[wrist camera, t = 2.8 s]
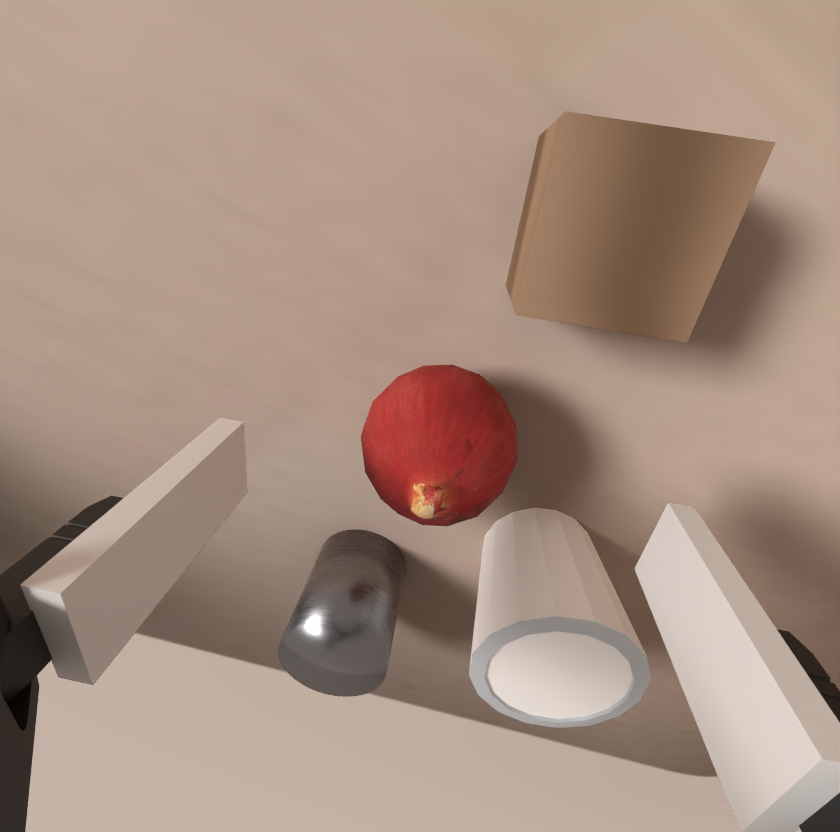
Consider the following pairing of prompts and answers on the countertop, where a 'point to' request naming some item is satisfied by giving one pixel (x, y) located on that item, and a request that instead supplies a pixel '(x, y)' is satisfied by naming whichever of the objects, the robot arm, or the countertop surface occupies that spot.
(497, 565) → the white short cylinder
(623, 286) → the walnut block
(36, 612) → the robot arm
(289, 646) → the metal tin
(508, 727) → the countertop surface
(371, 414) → the onion
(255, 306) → the countertop surface
